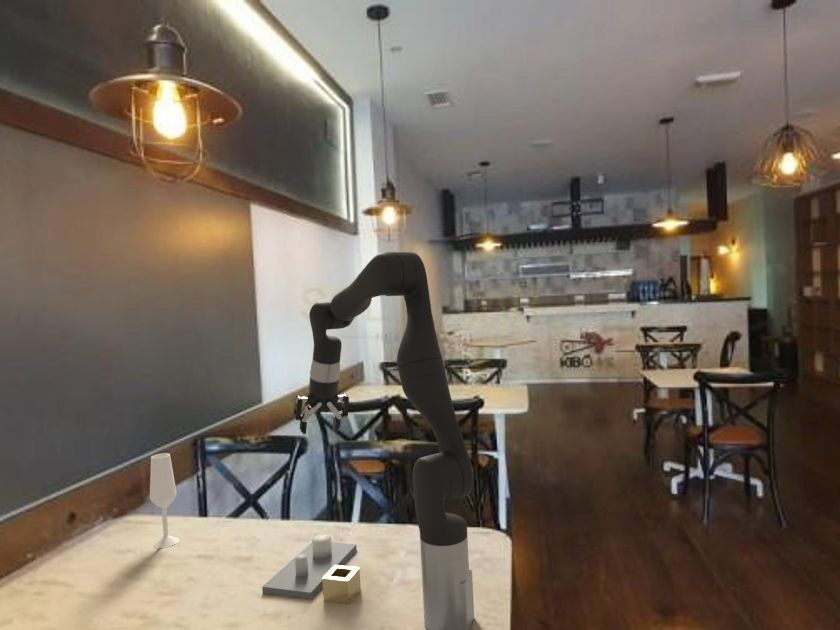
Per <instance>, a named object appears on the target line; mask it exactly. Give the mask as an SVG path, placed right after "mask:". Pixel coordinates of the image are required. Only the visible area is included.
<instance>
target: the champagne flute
mask: <svg viewBox="0 0 840 630" xmlns="http://www.w3.org/2000/svg"><path fill="white" fill-rule="evenodd" d="M149 474H150V481H149V500H150V502H152V504H153V505H155V506H156V507H158V508H160V509H161V517H162V529H163V531H162V532H163V536H161V537H160V538H159V539H158V540H156V541H155V542H154V543H153V545H152V546H153V548H155V547H156V548H155V549H163V548H164V549H165V548H170V547H172V545H173V546H174V544H175V545H177V544H178V543H179V542H180V540H179V539H180V538H178V537H175V536H172V535H170V534H169V525H168V523H169V522H168V511H167V510H168V509H167V508H168V507H169V506H170V505H171V504H172V503H173V502H174V500H175V499H176V497H177V494H178V492H177V488H176V482H175V477H174V476H175V475H174V469H173V464H172V457H171V454H170V453H165V452H163V453H156V454H154V455H152V456H150V473H149ZM176 543H177V544H176ZM169 546H170V547H169Z"/></svg>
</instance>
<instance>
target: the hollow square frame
mask: <svg viewBox="0 0 840 630" xmlns="http://www.w3.org/2000/svg"><path fill="white" fill-rule="evenodd" d="M322 581H323V587H322V597H323V602H326V603H327V602H329V603H336V604H344V605H350V604H351V603H352V601H354V600H355V598H356V597H357V595H358V594H359V593H360V591H362V587H361V568H360V567H358V566H348V565H343V566H340V565H334V566H333V567H332V568H331V570H330V571H329V572H328V573H327V574H326V575H325V576H324V577H323V578H322Z"/></svg>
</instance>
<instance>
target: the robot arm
mask: <svg viewBox="0 0 840 630" xmlns="http://www.w3.org/2000/svg"><path fill="white" fill-rule="evenodd" d="M425 267H426V266H425V264H424V261H423V260H422V258H421V256H420V255H418V254H417V253H415V252H410V251H383V252H380V253H378V254H376V255H375V256H373V258H371V260H369V262H368V263H367V264H366V265H365V266H364V268H363V269H362V270H361V271H360V273H358V275H357V276H356V278H355V279H354V280H353V281H352V282H351V283H350V284H349V285H347V287H345V288H344V289H342V290H341V291H340V292H338V293H336V294H335V295H334V296H333V298H332V299H331V301H318V302H317V301H316V303H314V304H313V305H312V306H311V308H310V309H309V322H310V328H311V331H312V338H313V349H312V350H313V352H312V362H311V366H310V371H309V374H310V376H309V384H308V385H309V387H308V394H307V396H301V395H299V394H297V395H296V396H295V400H294V402H295V403H294V409H293V414H292V415H293V416H294V419H295V420H296V421H299V430H300V432H301V433H302V435H307V434H306V433H307V426H308V421H307V420H309V418H310V417H312V416H313V415H314V414H315V413H317V414H319V413H329V412H330V411H331V412H332V413H333V415H334V416H333V421H332V430H333V432H338V430H339V429H340V427H341V419H342V418H344V417H345V418H346V417H348V416H349V408H350V405H349V404H350V403H349V401H350V397H349V396H348V394H347V393H346V392H342V394H338V393H339V384H340V373H341V356H342V355H341V354H342V341H341V339H340V338H339V337H337V336H334V335H330V334H329V335H328V334H327V330H328V331H329V330H338V329H339V330H340V329H344V328H348V327H349V326H350V325H351V324H352V322H354V319H355V318H356V317H357V316H359V315H361V314H363V313H364V312H366V311H367V310H368V309H369V307H370V305H371V303H372V299H373V298H376V297H381V296H385V297H398V296H399V297H402V296H403V298H404V302H405V307H406V316H407V317H406V326H405V328H404V333H403V335H402V337H401V341H400V344H399V348H398V350H397V354H396V355H397V356H396V365H397V369H398V370H397V371H398V374H399V379H400V383H401V388H402V391H403V393H404V396H406V399H408V401H409V402H410V404H411V405H412V406H413V408H415V409H416V410H417V412H418V413H419V414H420V415H421V416H422V417H423V418H424V419H425V420H426V422H427V423H428V425H429V427H430V428H431V430H432V432H433V434H434V437H435V440H436V442H437V445H438V446H437V447H438V451H439V452H438V453H433V454H429V455H426V456H422V457H420V458H418V459H417V460H416V461H415V462H414V465H413V468H412V490H413V498H414V508H415V518H416V522H417V525H418V526H417V527H418V529H419V541H420V542H419V544H420V561H421V566H420V567H421V581H422V582H421V583H422V600H423V602H422V603H423V604H422V605H423V618H424V627H425V628H426V630H470V628H471V626H472V624H473V621H474V618H475V604H474V586H473V585H474V583H473V581H474V580H473V571H472V569H470V562H469V561H470V560H469V541H468V538H469V537H468V523H467V522H466V519H465V518H463V517H462V516H460V515H458V514H455V513H452V512H451V513H450V512H446V507H445V504H446V503H449V502H452V501H455V500H458V499H462V498H464V497H466V496H469V494H470V493H471V492H472V491H473V488H474V484H475V483H474V482H475V481H474V480H475V479H474V471H473V465H472V463H471V458H470V455H469V452H468V449H467V447H466V443H465V440H464V438H463V434H462V432H461V429H460V425H459V422H458V419H457V416H456V411H455V408H454V404H453V400H452V396H451V392H450V388H449V382H448V378H447V372H446V369H445V365H444V361H443V360H444V359H443V356H442V352H441V349H440V346H439V345H440V344H439V341H438V336H437V333H436V332H437V331H436V326H435V323H434V318H433V312H432V303H431V298H430V296H431V295H430V289H429V283H428V275H427V271H426V268H425ZM338 402H340V403H341V410H340V411H339V410H338V409H337V408H336V404H337V403H338ZM305 403H307V405H306V406H305V408H304V410H303V411H302V408H303V406H304V405H305Z"/></svg>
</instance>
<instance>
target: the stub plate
mask: <svg viewBox="0 0 840 630" xmlns="http://www.w3.org/2000/svg"><path fill="white" fill-rule="evenodd" d="M357 550H358V549H357V544H355V543H345V542H343V543H342V542H334V541H333V542H332V536H331V535H329V534H319V535H315V536H314V537H312V539H311V543H309V545H308V546H306V548H304V549H303V550H301V552H300V553H299V554H297V555H296V556H295V557H294V558H293V559H292V560H291V561H290V562H288V563H287V564H286V565H285V566H284V567H283V568H281V569H280V570H279V571H278V572H277V573H275V575H273V576H272V577H271V578H270V579H269V580H268V581H267V582H266V583H265V584H263V585H262V587H261V588H262V594H266V595H273V596H282V597H289V598H297V599H306V600H312V599H313V598H314V597H315V596H316V594H317V593H319V592H320V590H321V589H323V581H322V578H323V577H324V576H325V575H326V574H327V573H328V572H329V571H330V570H331V568H332V567H333V566H334V565H340V566H344V565H345V564H346V562H347V561H348V560H349V559H350V558H351V557H352V556H353V555H354V554H355V553H356V552H357Z"/></svg>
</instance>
